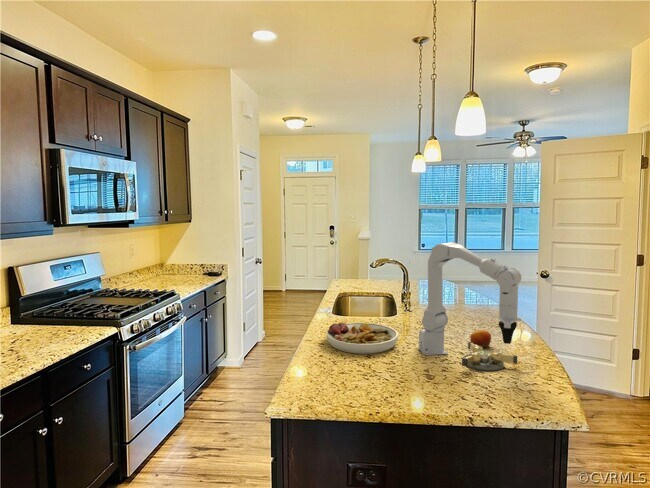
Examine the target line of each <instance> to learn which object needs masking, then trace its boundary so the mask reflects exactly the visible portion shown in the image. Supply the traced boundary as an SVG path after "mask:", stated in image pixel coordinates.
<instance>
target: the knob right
mask: <svg viewBox="0 0 650 488" xmlns="http://www.w3.org/2000/svg"><path fill="white" fill-rule="evenodd" d="M503 353H504V352H500V351H498V350H497V351H491V352H490V355H491V362H493V363H497V364H499V363H502V362H504V363H510V364H515V365H518V355H515V354H514V355H512V354H505V353H504V354H503Z"/></svg>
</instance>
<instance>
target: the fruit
mask: <svg viewBox="0 0 650 488" xmlns="http://www.w3.org/2000/svg"><path fill="white" fill-rule="evenodd" d="M469 338H470V342H472V343H473V344H474V345H477V346H481V347H483V348H490V344H491V341H492V335H491V333H490V332H489V331H488V330H485V329H478V330H474V331H473V332H472V333H471V334H470V337H469Z"/></svg>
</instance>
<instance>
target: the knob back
mask: <svg viewBox="0 0 650 488" xmlns="http://www.w3.org/2000/svg"><path fill="white" fill-rule="evenodd" d="M467 349H468V350H470V351H472V352H477V351H484V350H483V349H484V347H481V346H477V345H474V344H473V343H472V342H471V341H468V342H467Z"/></svg>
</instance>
